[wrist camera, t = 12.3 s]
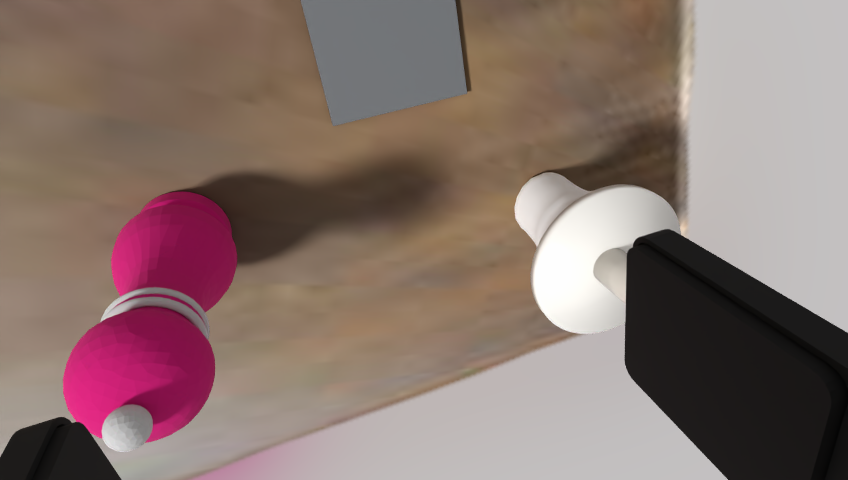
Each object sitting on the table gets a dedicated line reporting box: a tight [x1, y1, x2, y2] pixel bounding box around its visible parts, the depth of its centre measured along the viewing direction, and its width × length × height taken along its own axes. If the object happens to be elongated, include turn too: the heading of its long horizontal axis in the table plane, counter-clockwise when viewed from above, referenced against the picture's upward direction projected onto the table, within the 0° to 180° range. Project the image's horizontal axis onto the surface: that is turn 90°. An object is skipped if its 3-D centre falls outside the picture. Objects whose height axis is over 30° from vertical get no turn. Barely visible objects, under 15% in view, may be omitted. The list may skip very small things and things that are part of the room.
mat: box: [301, 0, 467, 126], centre depth 35 cm, size 12×10×1 cm
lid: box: [531, 184, 681, 334], centre depth 33 cm, size 11×11×6 cm
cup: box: [515, 172, 592, 246], centre depth 40 cm, size 9×9×10 cm
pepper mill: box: [63, 192, 237, 452], centre depth 29 cm, size 7×7×20 cm
